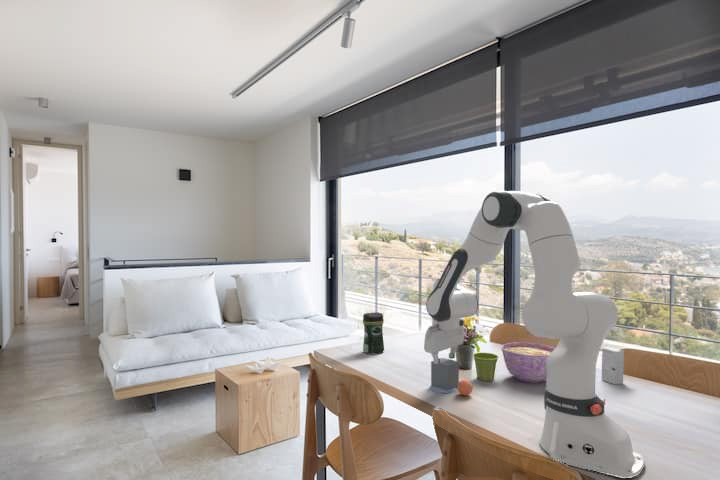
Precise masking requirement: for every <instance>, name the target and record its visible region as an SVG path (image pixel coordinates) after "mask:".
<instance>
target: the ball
mask: <svg viewBox="0 0 720 480" xmlns="http://www.w3.org/2000/svg"><path fill="white" fill-rule="evenodd" d="M456 389H457V391H458V393H459V394H460V395H462V396H469V395H471V394H472V391H473V385H472V383H471V382H470V381H469V380H465V379H462V380H459V383H458V385H457V387H456Z"/></svg>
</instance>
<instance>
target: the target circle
mask: <svg viewBox="0 0 720 480" xmlns="http://www.w3.org/2000/svg"><path fill="white" fill-rule="evenodd" d="M456 389H457V388H456V387H454V388H452V389H449V390H445V389H442V388H438V387H435V386H432V385H430V386H429V390H430V391H432V392H434V393H438V394H450V393H453V392H455V391H456Z"/></svg>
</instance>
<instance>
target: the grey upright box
mask: <svg viewBox="0 0 720 480" xmlns="http://www.w3.org/2000/svg"><path fill="white" fill-rule="evenodd" d="M439 359H440V363H439V364H434V362H433V360H431V362H430V369H431V370H430V372H431V373H430V374H431V375H430V383H431V385H432V386H435V387H438V388H442V389H445V390H449V389H452V388H454V387H455V388H457V385H458V383H459V382H460V374H459V373H460V364H459V363H460V361H458V360H453V359H451V358H449V359H448V358H445V357H440V358H439ZM431 385H430V386H431Z"/></svg>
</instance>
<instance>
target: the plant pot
mask: <svg viewBox="0 0 720 480" xmlns="http://www.w3.org/2000/svg"><path fill="white" fill-rule="evenodd" d="M472 357H473V360H474V363H475V364H474V365H475V370H476V371H475V372H476V377H477V379H478V380H481V381H483V382H484V381H485V382H489V381H493V380H495V374H496V373H495V372H496V368H497V367H496V366H497V362H498V359H499V355H497V354H496V353H491V352H476V353H473V354H472Z"/></svg>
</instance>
